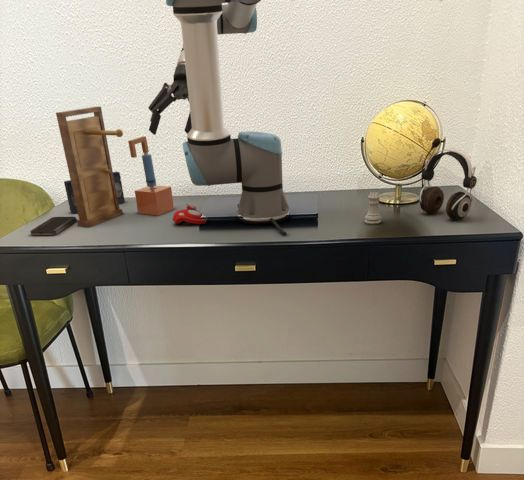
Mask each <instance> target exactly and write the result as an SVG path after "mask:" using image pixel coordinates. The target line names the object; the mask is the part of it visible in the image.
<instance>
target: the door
mask: <svg viewBox="0 0 524 480" xmlns="http://www.w3.org/2000/svg"><path fill="white" fill-rule="evenodd" d="M102 111H103V110H102V106H89V107H84V108H78V109H71V110H63V111H57V112H55V115H56V120H57V124H58V129H59V134H60V138H61V139H60V140H61V143H62V147H63V153H64V157H65V161H66V165H67V171H68V174H69V178H70V179H69V180H71V184H72V189H73V193H74V198H75V202H76V207H77V211H78V213H77V215H78V220H76V223H77V226H78V227H86V228H91V227H93V226H96V225H98V224H101V223H103V222H106V221H109V220H111V219H113V218H116V217H119V216H121V215H124V212H123V209H122V208H120V204H118V198H117V193H116V187H115V182H114V176H113V172H114V171H113V165H112V161H111V155H110V148H109V144H108V138H107V136H116V137H117V138H121V137H123V135H124V132H123V130H122V129H121V128H117V129H116V130H106V127H105V122H104V117H103V112H102ZM86 114H93V115H92V116H88V117H87V116H86V117H81V118H76V119H70V120H67V118H68V117H75V116H80V115H86Z"/></svg>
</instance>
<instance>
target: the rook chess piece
mask: <svg viewBox="0 0 524 480" xmlns="http://www.w3.org/2000/svg"><path fill="white" fill-rule="evenodd" d="M367 198H368V200H369V201H368V210H367V213H366V215H365V216H364V218H365V219H364V223H365V224H367V225H373V226H374V225H379V224H380V223H381V222H382V220H381V219H382V217H381V214H380V211H379V204H380V201H379V200H380V198H381V195H380V192H379V191H376V192H375V191H373V192H372V191H371V192H369V194H368V196H367Z"/></svg>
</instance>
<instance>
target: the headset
mask: <svg viewBox="0 0 524 480" xmlns="http://www.w3.org/2000/svg"><path fill="white" fill-rule="evenodd" d="M441 142H442V140H441V138H439V137H436V138H434V139H433V140H432V143H431V147H430V149H429V151H428V153H427V154H426V156H425V158H424V160H423V163H422V167H421V176H420V177H421V190H420V192H419V207H420V209H421V210H422V211H424V212H425V213H426V214H427V215H428V214H429V215H432V214H435V213H437V212H439V211H440V209H441V208H442V207H443V204H444V200H445V194H444V191H443V190H442V189H441V188H440V187H439V186H432V185H431V184H430V181H432V180H433V179H434V177H435V170H434V169H435V167H436V164H437V163H438V161H439V160H440V159H441V158H442V157H444V156H446V155H447V156H450V157H452V158H453V159H455V160H456V161H457V162H458V164H460V166H461V168H462V170H463V174H464V177H463V180H462V187H463V188H465V189H466V191H465V192H464V191H462V190H461V191H457V192H454V193H453V194H451V195H450V197H449V198H448V200H447V201H446V206H445V212H446V215H447V217H449V219H450V220H453V221H455V220H462V219H464V218H465V217H467V215H468V214H469V212H470V210H471V206H472V204H473V203H472V202H473V200H474V196H473V194H472V191H473V189H474V188H475V187H476V185H477V181H478V180H477V179H478V178H477V176H475V171H476V169H477V167H476V166H473V164H472V162H471V159H470V158H469V157H468V156H467V155H466V154H465V153H464V152H462V151H460V150H456V149H442V150H438V151H436V152H434V153H433V154H432V155H431V157H430V158H429V159H428V157H429V155H430V154H431V151H432V150H434V149H436V148H438V147H439V146H440V145H441ZM426 181H427V182H426ZM426 183H427V185H428V187H427V188H426ZM425 188H426V189H425ZM468 192H469V194H468Z"/></svg>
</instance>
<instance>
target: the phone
mask: <svg viewBox="0 0 524 480" xmlns="http://www.w3.org/2000/svg"><path fill="white" fill-rule="evenodd" d="M75 223H77V217H76V216H53V217H51V218H49V219H47V220H46V221H44V222H42V223H41V224H38V225H37V226H35V227H34V228H32V229H31V230H30V235H31V236H55V235H58V234H60V233H61V232H63V231H64V230H66V229H67V228H69V227H70V226H72V225H73V224H75Z"/></svg>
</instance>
